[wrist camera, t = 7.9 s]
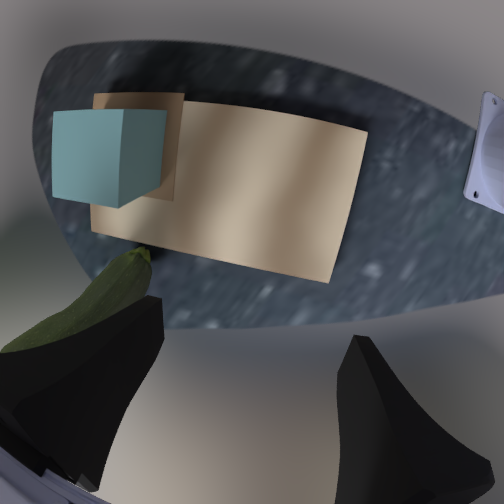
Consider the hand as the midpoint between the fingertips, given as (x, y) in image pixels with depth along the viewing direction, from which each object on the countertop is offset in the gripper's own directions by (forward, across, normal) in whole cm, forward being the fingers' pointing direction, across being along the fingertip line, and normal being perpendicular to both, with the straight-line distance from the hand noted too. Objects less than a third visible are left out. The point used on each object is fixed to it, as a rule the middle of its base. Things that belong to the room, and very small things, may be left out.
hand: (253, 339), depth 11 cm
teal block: (+9, +10, -5) cm, 15 cm away
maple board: (+10, +5, -3) cm, 12 cm away
